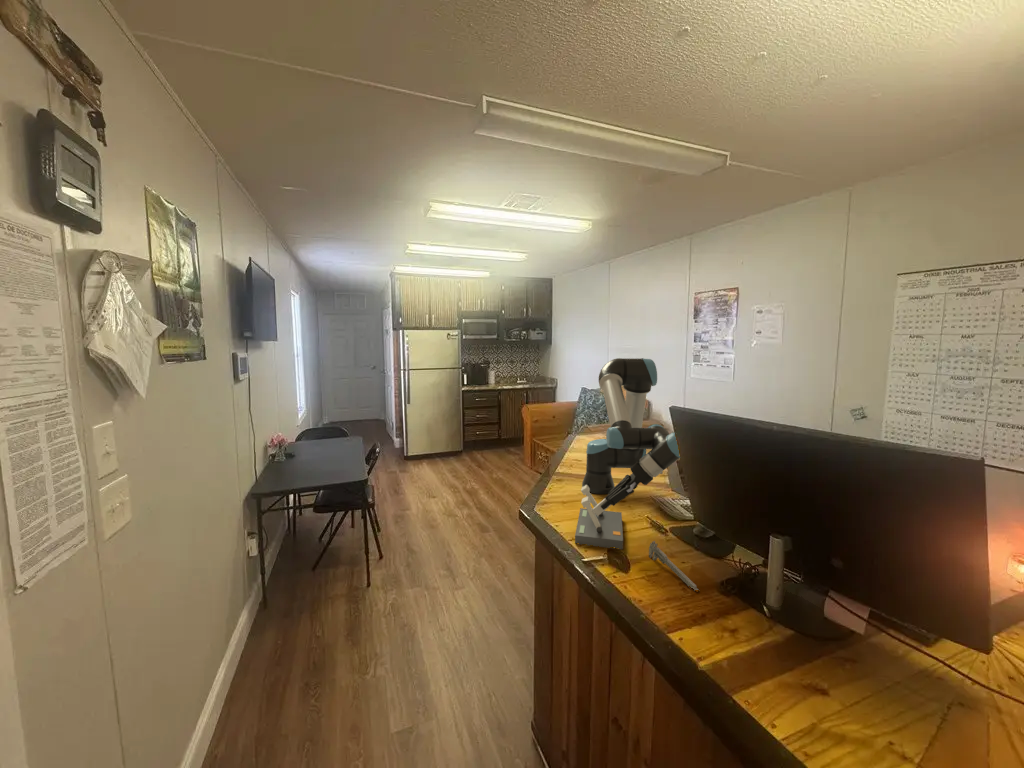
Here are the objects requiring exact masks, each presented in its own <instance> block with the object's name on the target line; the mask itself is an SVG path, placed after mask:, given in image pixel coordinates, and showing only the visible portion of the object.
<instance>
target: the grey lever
mask: <svg viewBox="0 0 1024 768" xmlns="http://www.w3.org/2000/svg"><path fill="white" fill-rule="evenodd" d="M580 503H581V505H582V507H583V509H587V511H588V513H589V515H590V517H591V519H592V521H593V522H594V524H595V526H596V528H597V532H598V533H601V532H602V525H601V524H600V523H599V521H598V519H597V517H596V515H595V513H594V512H593V510H592V509H593V508H592V507H593V506H592V503H591V501H590V499H589V497H588V496H585V497H583V498H581V502H580Z"/></svg>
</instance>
